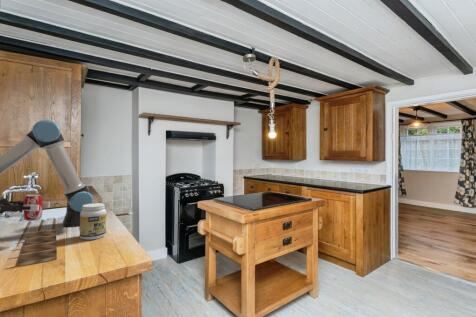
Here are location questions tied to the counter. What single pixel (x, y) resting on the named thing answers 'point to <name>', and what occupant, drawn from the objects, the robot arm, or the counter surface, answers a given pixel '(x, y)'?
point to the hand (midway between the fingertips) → (43, 206)
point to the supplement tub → (92, 221)
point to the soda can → (33, 200)
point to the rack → (39, 247)
